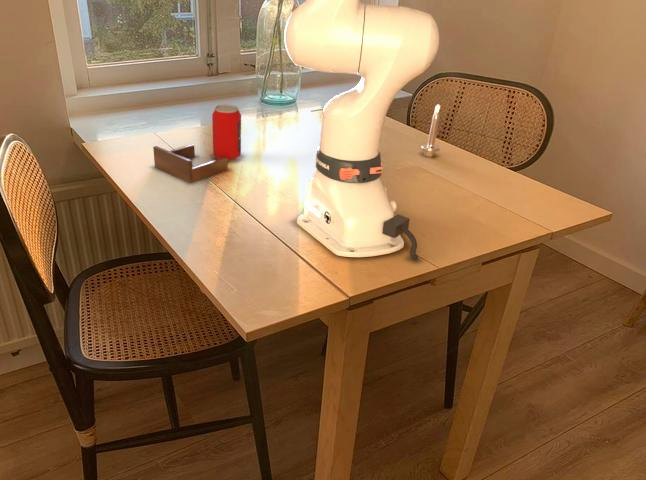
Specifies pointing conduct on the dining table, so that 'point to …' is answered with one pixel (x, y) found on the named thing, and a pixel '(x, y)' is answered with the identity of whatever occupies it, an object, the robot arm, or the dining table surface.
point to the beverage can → (226, 132)
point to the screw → (432, 135)
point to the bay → (186, 164)
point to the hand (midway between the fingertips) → (309, 19)
